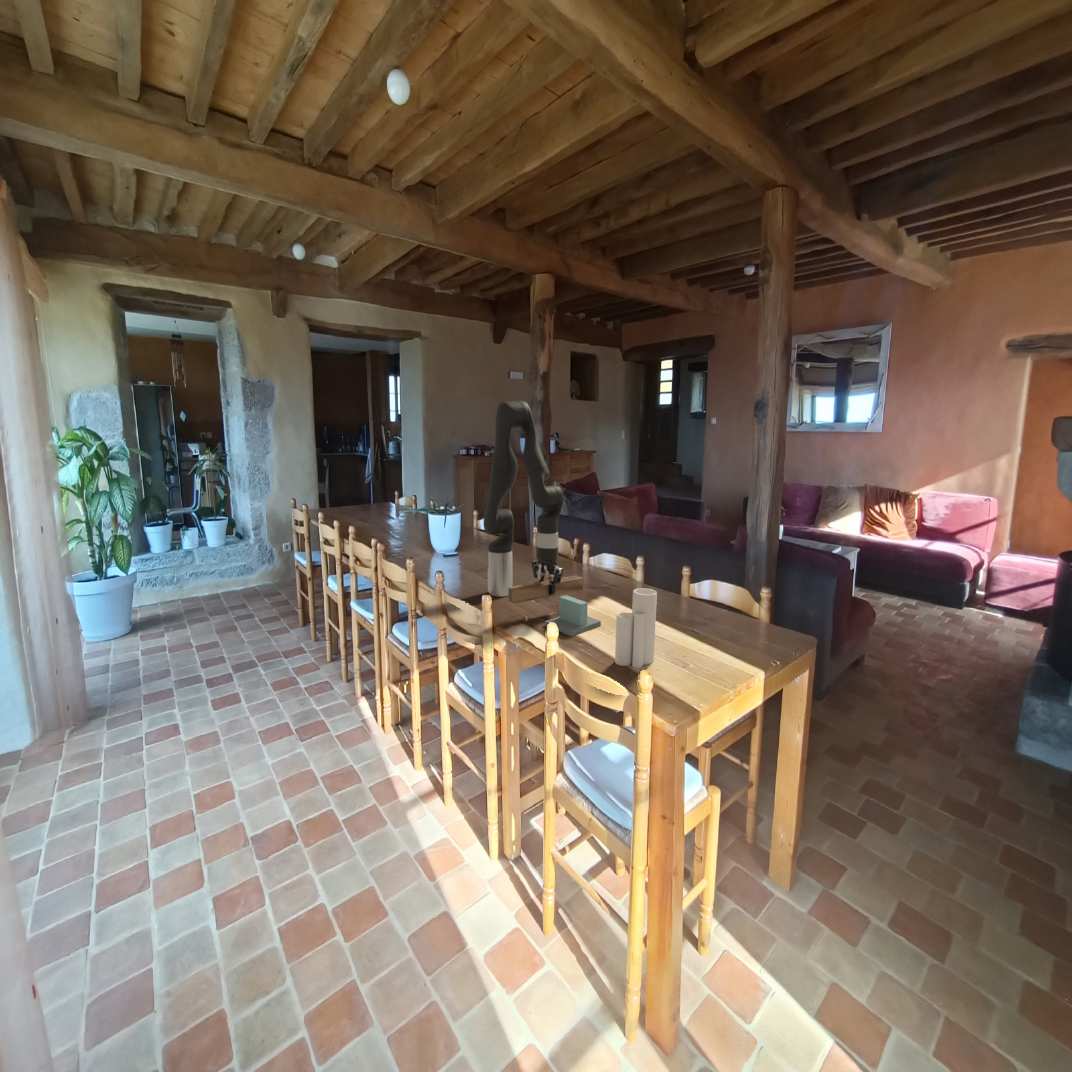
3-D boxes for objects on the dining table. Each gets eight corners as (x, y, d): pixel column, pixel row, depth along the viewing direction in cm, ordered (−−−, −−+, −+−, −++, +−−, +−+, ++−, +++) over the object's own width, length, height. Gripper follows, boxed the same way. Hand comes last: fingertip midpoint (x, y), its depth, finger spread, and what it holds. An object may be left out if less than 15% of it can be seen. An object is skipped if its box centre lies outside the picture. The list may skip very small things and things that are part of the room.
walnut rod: (508, 600, 181) (508, 587, 180) (576, 587, 196) (576, 575, 195) (514, 603, 178) (514, 590, 177) (582, 590, 192) (583, 578, 192)
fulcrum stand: (544, 625, 178) (545, 599, 176) (574, 616, 187) (575, 591, 185) (570, 636, 169) (570, 609, 168) (600, 625, 178) (601, 599, 177)
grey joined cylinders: (642, 652, 157) (645, 587, 153) (659, 662, 151) (663, 593, 147) (611, 661, 152) (613, 593, 148) (628, 671, 146) (630, 600, 142)
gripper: (525, 542, 186) (524, 589, 189) (553, 550, 175) (552, 600, 179) (541, 539, 191) (540, 585, 194) (570, 547, 180) (568, 595, 184)
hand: (546, 592), depth 187 cm, fingers closed on walnut rod, 4 cm apart
